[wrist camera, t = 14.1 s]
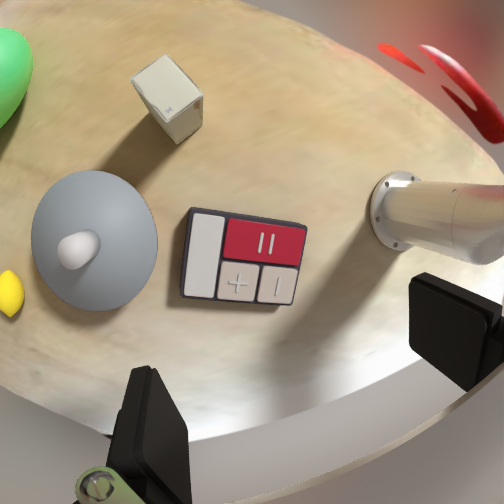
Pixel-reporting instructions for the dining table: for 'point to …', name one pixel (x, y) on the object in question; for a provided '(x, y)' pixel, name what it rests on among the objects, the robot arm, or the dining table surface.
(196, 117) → the skincare box
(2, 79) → the toy bird
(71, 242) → the lid
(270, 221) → the calculator
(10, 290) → the lemon
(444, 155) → the dining table surface
